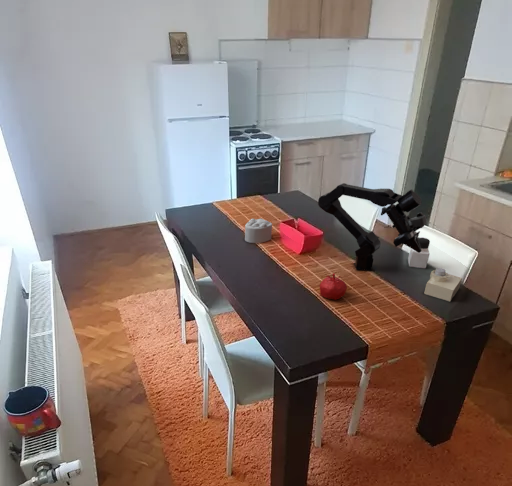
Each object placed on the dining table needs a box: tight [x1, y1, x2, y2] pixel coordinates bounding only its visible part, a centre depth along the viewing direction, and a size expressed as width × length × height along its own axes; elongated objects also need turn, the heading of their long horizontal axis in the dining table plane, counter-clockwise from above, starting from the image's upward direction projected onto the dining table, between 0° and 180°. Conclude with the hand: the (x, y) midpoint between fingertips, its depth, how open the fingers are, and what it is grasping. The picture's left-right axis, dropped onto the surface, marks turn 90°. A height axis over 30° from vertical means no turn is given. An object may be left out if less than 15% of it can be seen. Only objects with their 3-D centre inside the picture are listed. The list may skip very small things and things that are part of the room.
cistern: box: [424, 269, 463, 302], centre depth 183 cm, size 11×13×7 cm
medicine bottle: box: [407, 236, 431, 269], centre depth 202 cm, size 7×7×12 cm
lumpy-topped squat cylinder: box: [244, 218, 273, 244], centre depth 221 cm, size 10×13×9 cm
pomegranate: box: [319, 272, 348, 301], centre depth 176 cm, size 10×10×9 cm
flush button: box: [435, 267, 447, 276], centre depth 182 cm, size 4×4×2 cm
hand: (420, 252), depth 183 cm, fingers closed
